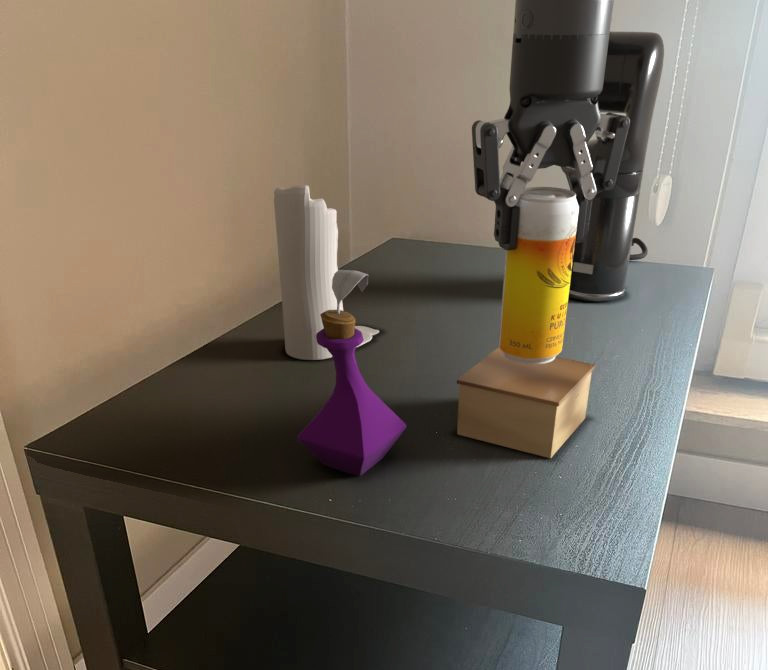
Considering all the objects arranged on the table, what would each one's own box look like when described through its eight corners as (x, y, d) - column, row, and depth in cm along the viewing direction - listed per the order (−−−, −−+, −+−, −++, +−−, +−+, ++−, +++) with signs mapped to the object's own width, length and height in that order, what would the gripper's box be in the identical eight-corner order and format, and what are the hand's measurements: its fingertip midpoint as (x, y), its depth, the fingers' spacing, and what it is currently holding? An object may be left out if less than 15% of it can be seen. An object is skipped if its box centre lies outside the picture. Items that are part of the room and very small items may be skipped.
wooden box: (496, 397, 88) (500, 345, 85) (587, 418, 84) (595, 364, 80) (454, 434, 81) (456, 379, 77) (551, 460, 76) (559, 402, 73)
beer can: (560, 369, 75) (580, 201, 67) (495, 364, 76) (507, 199, 68) (561, 345, 80) (580, 187, 72) (500, 341, 81) (512, 184, 73)
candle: (390, 334, 104) (390, 170, 94) (312, 365, 96) (302, 189, 85) (351, 321, 109) (347, 163, 98) (273, 350, 100) (259, 180, 89)
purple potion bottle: (364, 489, 72) (360, 291, 62) (298, 468, 75) (284, 277, 65) (407, 455, 77) (409, 268, 67) (343, 436, 80) (336, 255, 71)
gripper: (613, 25, 68) (587, 228, 77) (458, 28, 64) (450, 242, 73) (667, 28, 62) (632, 247, 71) (500, 32, 58) (485, 263, 67)
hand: (540, 244), depth 72 cm, fingers closed on beer can, 6 cm apart
